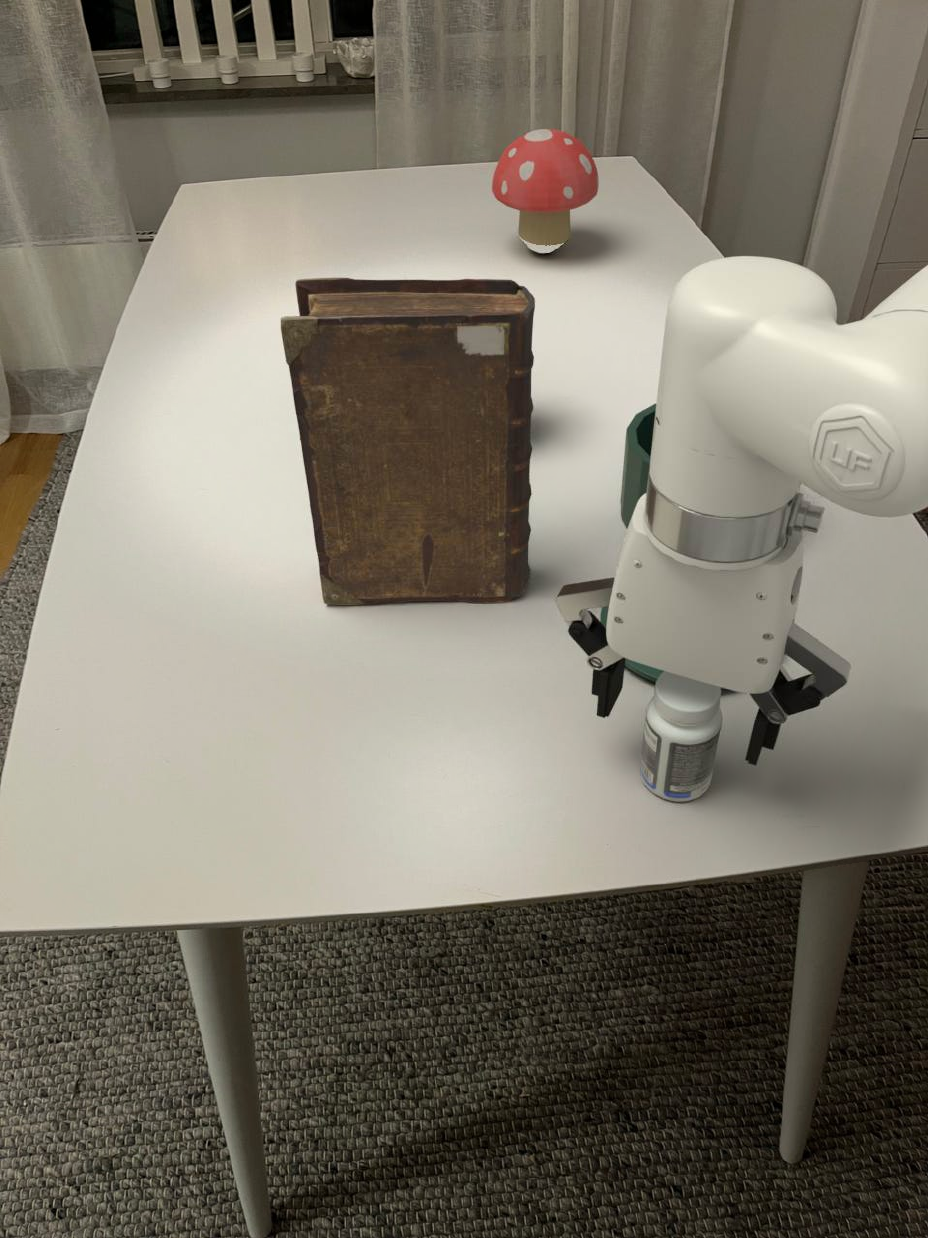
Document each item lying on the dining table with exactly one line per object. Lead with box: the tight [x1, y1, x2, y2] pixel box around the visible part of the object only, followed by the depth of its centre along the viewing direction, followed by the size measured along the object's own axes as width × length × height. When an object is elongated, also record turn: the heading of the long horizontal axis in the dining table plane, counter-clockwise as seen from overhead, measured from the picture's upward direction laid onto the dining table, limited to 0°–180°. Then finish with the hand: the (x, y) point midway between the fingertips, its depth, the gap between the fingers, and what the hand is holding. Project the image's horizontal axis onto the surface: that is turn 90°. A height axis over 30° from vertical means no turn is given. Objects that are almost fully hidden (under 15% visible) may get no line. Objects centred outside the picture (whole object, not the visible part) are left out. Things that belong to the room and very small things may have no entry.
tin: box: [619, 403, 656, 530], centre depth 87 cm, size 13×13×8 cm
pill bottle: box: [639, 671, 723, 803], centre depth 65 cm, size 5×5×8 cm
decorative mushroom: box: [491, 128, 600, 246], centre depth 128 cm, size 13×13×15 cm
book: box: [280, 277, 536, 606], centre depth 75 cm, size 17×7×25 cm, turn 83°
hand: (680, 725), depth 65 cm, fingers open, 9 cm apart
